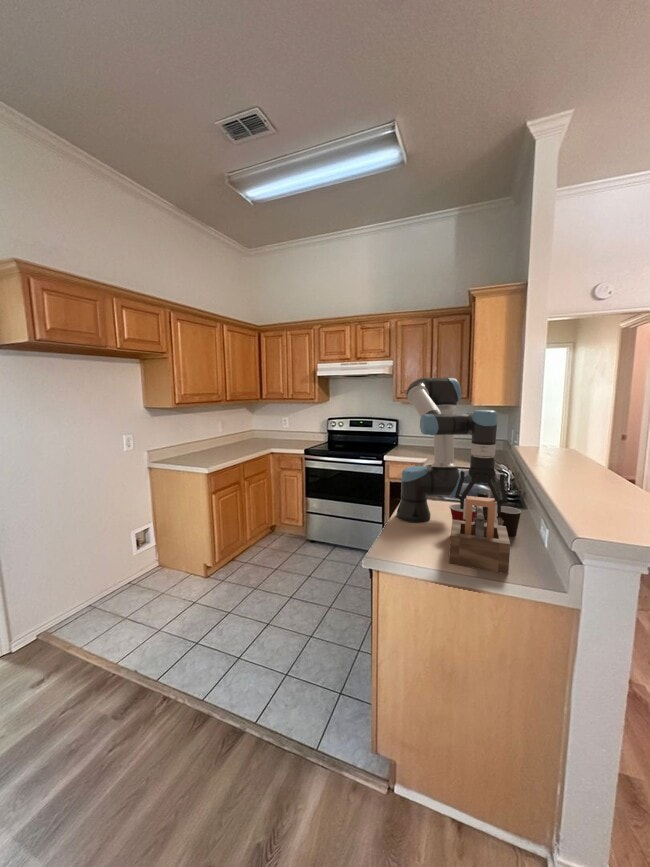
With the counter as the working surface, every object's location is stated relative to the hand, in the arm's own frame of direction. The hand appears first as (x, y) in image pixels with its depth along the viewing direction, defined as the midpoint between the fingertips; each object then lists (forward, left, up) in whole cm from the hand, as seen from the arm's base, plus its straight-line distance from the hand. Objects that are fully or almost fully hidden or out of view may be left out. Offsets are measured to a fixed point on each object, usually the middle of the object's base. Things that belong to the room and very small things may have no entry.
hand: (479, 519), depth 122 cm
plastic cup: (-13, +15, -14) cm, 24 cm away
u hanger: (0, 0, -5) cm, 5 cm away
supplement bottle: (-16, +40, -14) cm, 45 cm away
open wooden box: (0, 0, -14) cm, 14 cm away
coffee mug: (-2, +31, -14) cm, 34 cm away
